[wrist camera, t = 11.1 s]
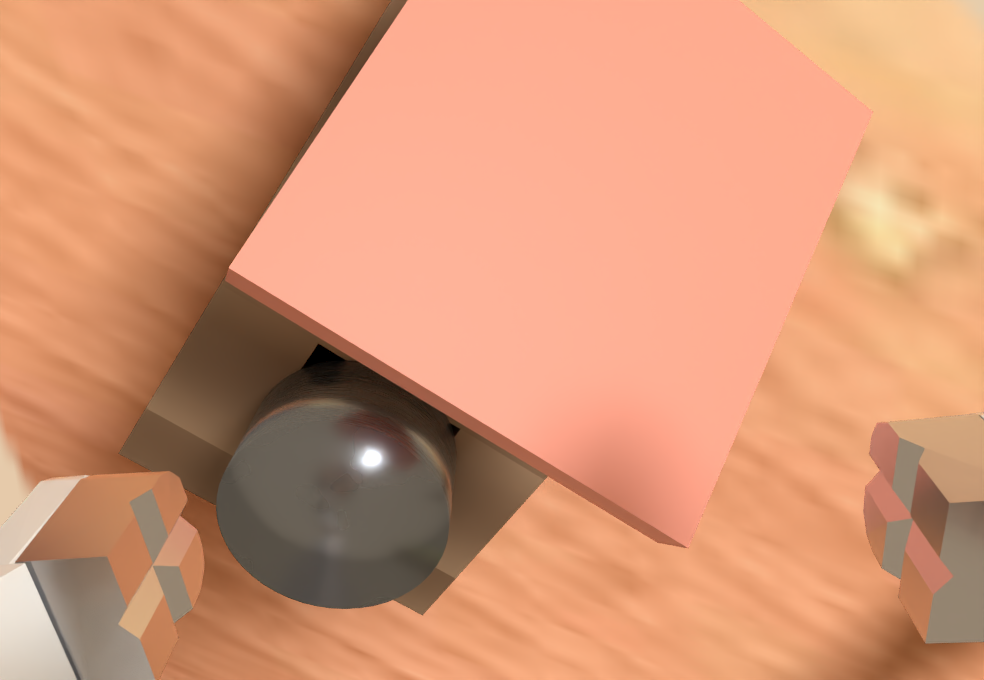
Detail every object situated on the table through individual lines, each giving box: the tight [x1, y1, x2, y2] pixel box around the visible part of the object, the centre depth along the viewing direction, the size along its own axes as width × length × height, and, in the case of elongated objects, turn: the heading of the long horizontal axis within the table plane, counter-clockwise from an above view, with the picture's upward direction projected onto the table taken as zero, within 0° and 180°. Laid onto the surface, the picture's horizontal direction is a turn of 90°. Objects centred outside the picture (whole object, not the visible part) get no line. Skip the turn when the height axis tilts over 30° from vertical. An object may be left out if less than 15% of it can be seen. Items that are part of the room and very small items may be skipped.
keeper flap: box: [225, 0, 873, 548], centre depth 15 cm, size 10×9×1 cm
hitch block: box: [119, 0, 548, 615], centre depth 23 cm, size 18×10×6 cm, turn 145°
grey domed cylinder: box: [216, 354, 457, 609], centre depth 24 cm, size 6×6×8 cm
